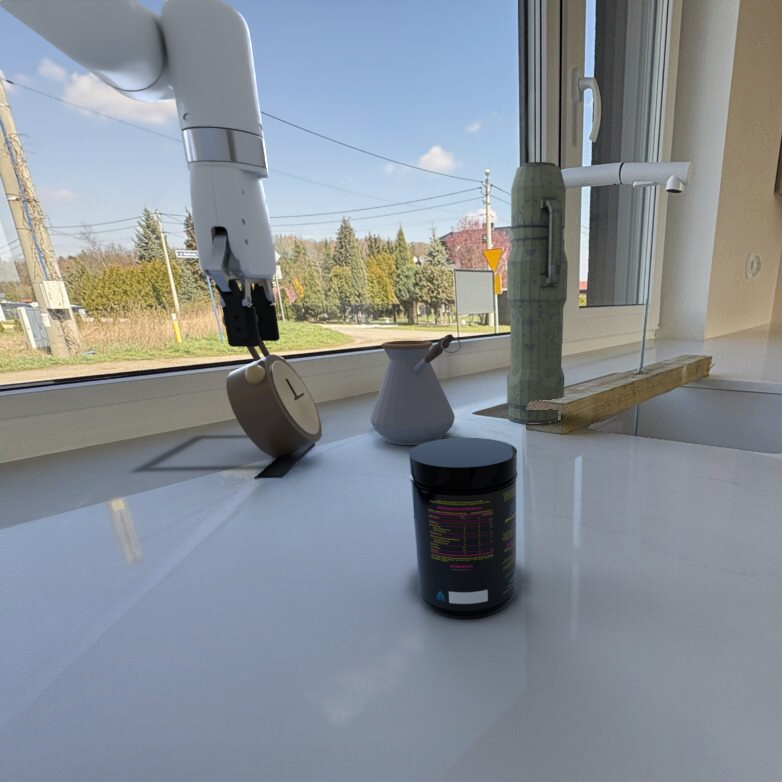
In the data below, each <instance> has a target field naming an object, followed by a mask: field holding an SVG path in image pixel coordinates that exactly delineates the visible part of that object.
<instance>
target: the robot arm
mask: <svg viewBox="0 0 782 782" xmlns="http://www.w3.org/2000/svg"><path fill="white" fill-rule="evenodd" d="M0 7H1V8H2V9H3V10H5V11H6V12H7V13H9V14H10V15H12V16H13V17H14V18H16V19H17V20H18V21H19V22H21V23H22V24H23V25H25V26H26V27H28V28H29V29H30V30H32V31H33V32H34V33H36V34H37V35H38V36H40V37H41V38H43V40H45V41H46V42H48V43H49V44H50V45H52V46H53V47H54V48H56V49H57V50H59V51H60V52H61V53H62V54H64V55H65V56H67V57H68V58H69V59H71V60H72V61H73V62H74V63H77V64H78V65H79V66H81V67H82V68H83V69H86V70H87V71H88V72H90V73H91V74H93V76H95V77H97V78H98V79H99V80H100V81H102V82H103V83H104V84H106V85H107V86H109V87H110V88H112V89H113V90H114V91H116V92H118V93H119V94H120V95H122V96H124V97H127V98H128V99H131V100H134V101H138V102H143V103H162V102H169V101H170V102H171V101H175V106H176V112H177V117H178V123H179V128H180V132H181V140H182V143H183V144H182V145H183V150H184V156H185V162H186V168H187V172H188V173H189V194H190V204H191V214H192V223H193V230H194V238H195V244H196V245H195V246H196V251H197V257H198V258H197V259H198V264H199V269H200V271H201V272H202V273H203V274H204V275H205V276H206V277H208V278H212V280H213V281H214V283H215V284H214V286H215V287H214V288H215V289H216V291H217V292H218V298H219V299H218V300H219V304H220V307H221V308H222V316H223V315H224V321H225V326H224V327H225V331H226V338H227V343H228V346H229V347H233V348H239V347H240V348H247V347H255V348H256V347H258V346H259V345H260V337H261V339H262V341H263V342H277V341H279V340H280V332H279V331H280V330H279V323H278V316H277V309H276V305H275V304H276V297H275V293H274V290H273V289H274V283H273V280H274V279H273V278H274V276H275V275H276V273H277V261H276V251H275V244H274V236H273V231H272V225H271V219H270V214H269V209H268V204H267V198H266V193H265V189H264V185H263V180H267V179H269V178H270V173H269V167H268V160H267V152H266V145H265V135H264V129H263V122H262V113H261V107H260V101H259V93H258V83H257V77H256V69H255V62H254V53H253V47H252V46H253V45H252V39H251V33H250V29H249V25H248V23H247V21H246V19H245V18H244V16H243V15H242V13H241V12H240V11H239V10H238V9H236V8H235V7H234V6H233V5H231V4H229V3H228V2H225V1H223V0H164V1H163V3H162V5H161V10H160V11H161V12H160V13H157V12H155V11H153V10H151V9H149V8H147V7H146V6H145V5H143V4H141V2H140V1H138V0H0ZM239 285H240V286H239ZM256 315H257V316H256ZM257 317H258V322H257Z"/></svg>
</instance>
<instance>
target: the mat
mask: <svg viewBox="0 0 782 782" xmlns="http://www.w3.org/2000/svg"><path fill="white" fill-rule="evenodd" d="M315 445H316V442H315V443H313V444H311V445H308V446H306V447H304V448H301V449H299V450H297V451H295V452H292V453H290V454H288V455H285V456H283V457H280V458H277V457H276V458H274V459H273V461H272V462H270V463H269V464H268V465H267V466H266V467H264V469H262V470H261V471H260V472H259V473H257V474H256V476H254V477H253V479H282V478H284V477H285V476H286V475H287V473H289V472H290V471H291V469H292V468H293V467H294V466H295V465H296V464H297V463H299V462H300V460H301V459H302V458H303V457H304V456H306V454H307V453H309V452H310V450H311V449H312V448H313V447H314V446H315Z"/></svg>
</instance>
